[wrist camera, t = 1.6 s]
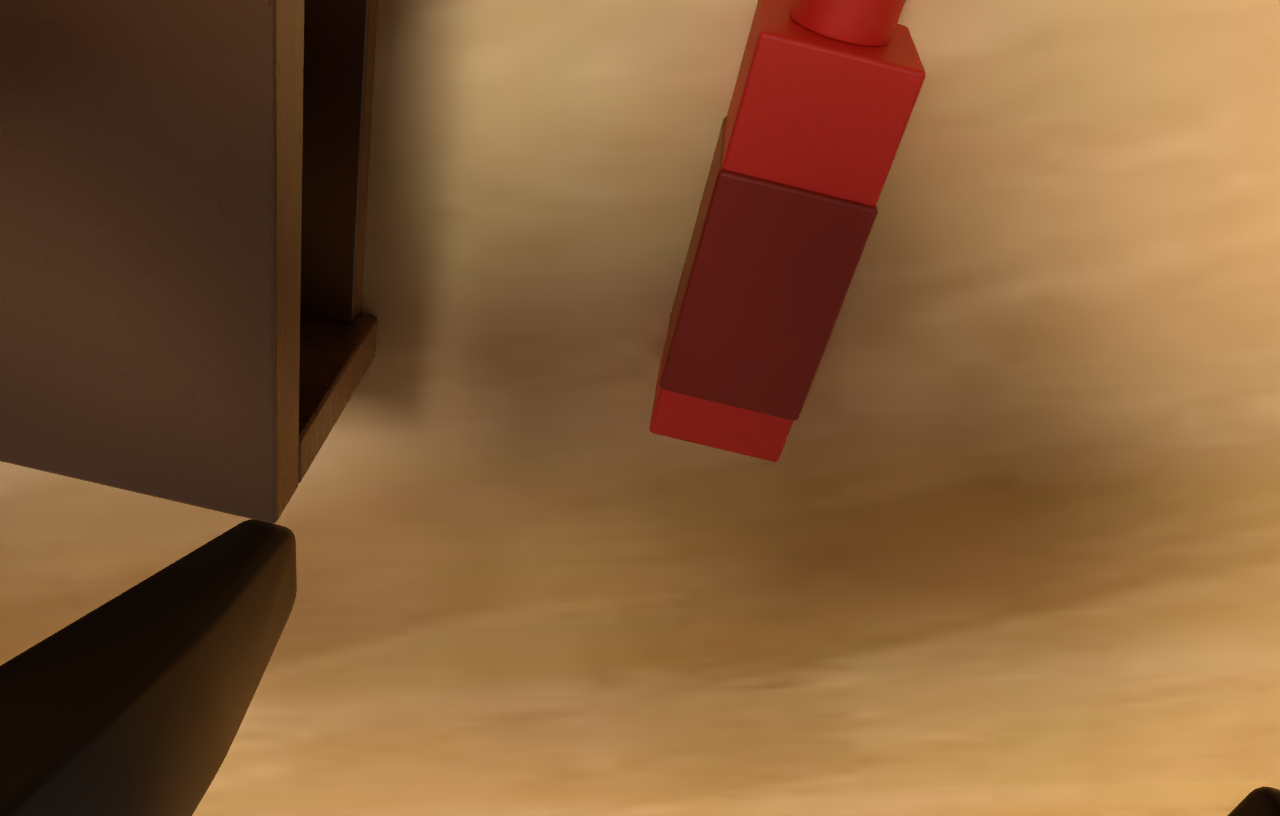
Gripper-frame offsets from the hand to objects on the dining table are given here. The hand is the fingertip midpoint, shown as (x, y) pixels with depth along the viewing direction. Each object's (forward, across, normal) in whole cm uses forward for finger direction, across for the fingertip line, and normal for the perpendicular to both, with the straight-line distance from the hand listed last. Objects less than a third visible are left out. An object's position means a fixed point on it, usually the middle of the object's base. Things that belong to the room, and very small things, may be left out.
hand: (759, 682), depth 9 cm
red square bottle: (+13, 0, +2) cm, 14 cm away
